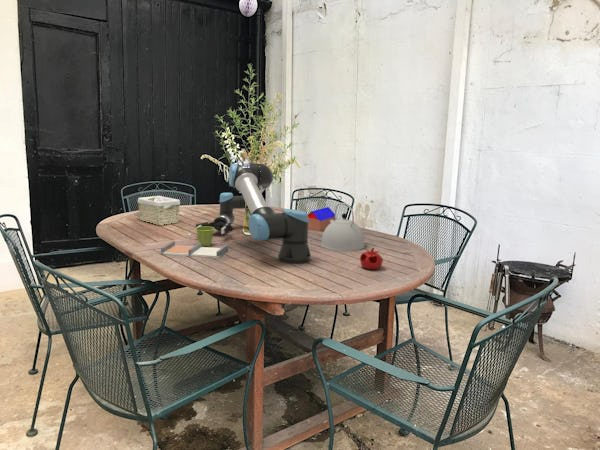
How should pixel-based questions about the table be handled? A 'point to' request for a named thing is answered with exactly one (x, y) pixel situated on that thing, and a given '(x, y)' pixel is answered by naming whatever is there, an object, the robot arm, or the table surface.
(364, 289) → the table surface
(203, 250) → the slot board
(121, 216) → the table surface
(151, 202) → the storage basket
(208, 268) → the table surface
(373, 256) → the pomegranate
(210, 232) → the plant pot
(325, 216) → the house
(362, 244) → the kettle
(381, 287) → the table surface
